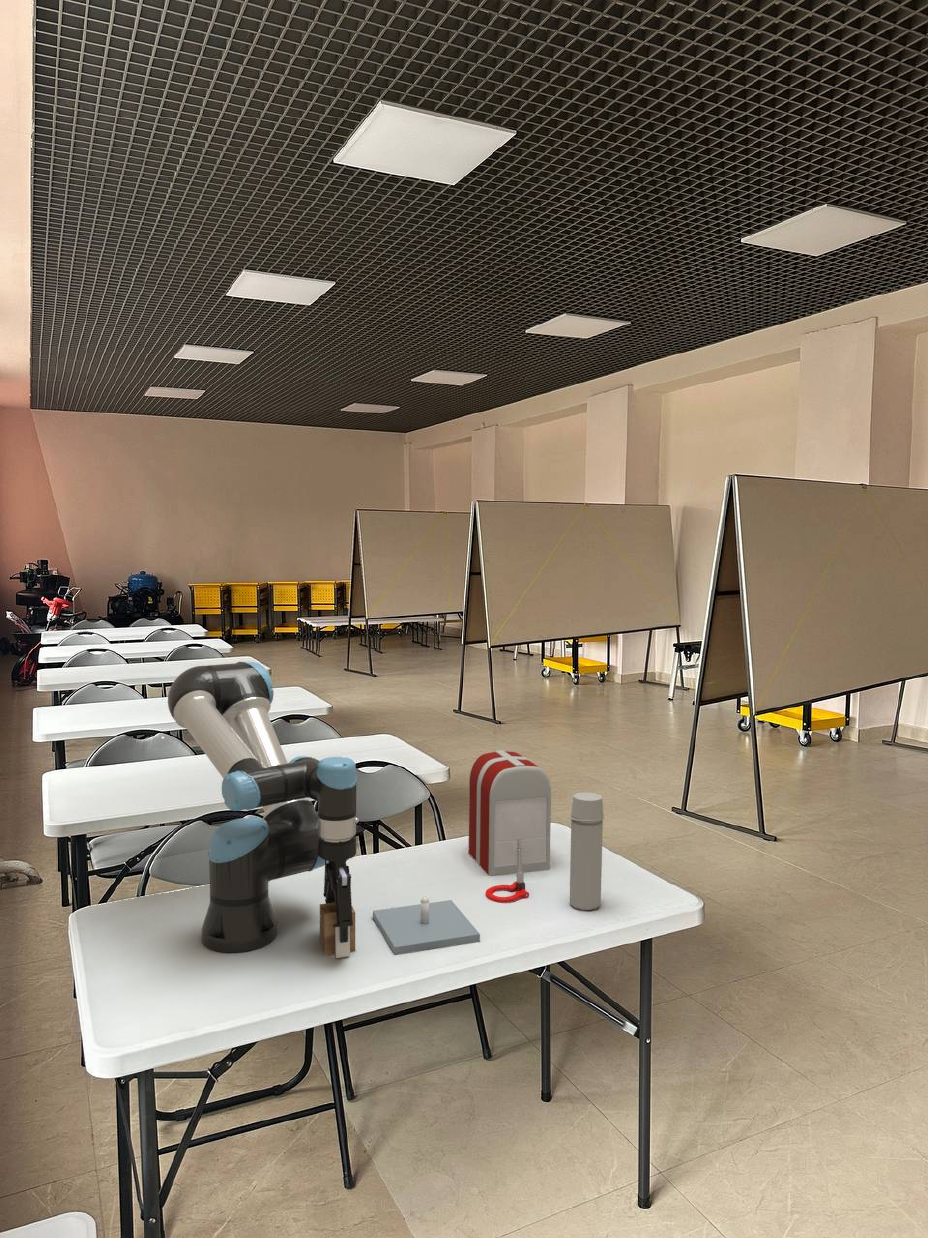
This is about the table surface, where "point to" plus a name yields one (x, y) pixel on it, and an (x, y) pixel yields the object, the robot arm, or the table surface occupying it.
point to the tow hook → (517, 885)
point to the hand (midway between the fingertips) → (337, 945)
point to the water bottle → (586, 851)
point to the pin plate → (425, 926)
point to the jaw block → (332, 929)
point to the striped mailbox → (509, 813)
